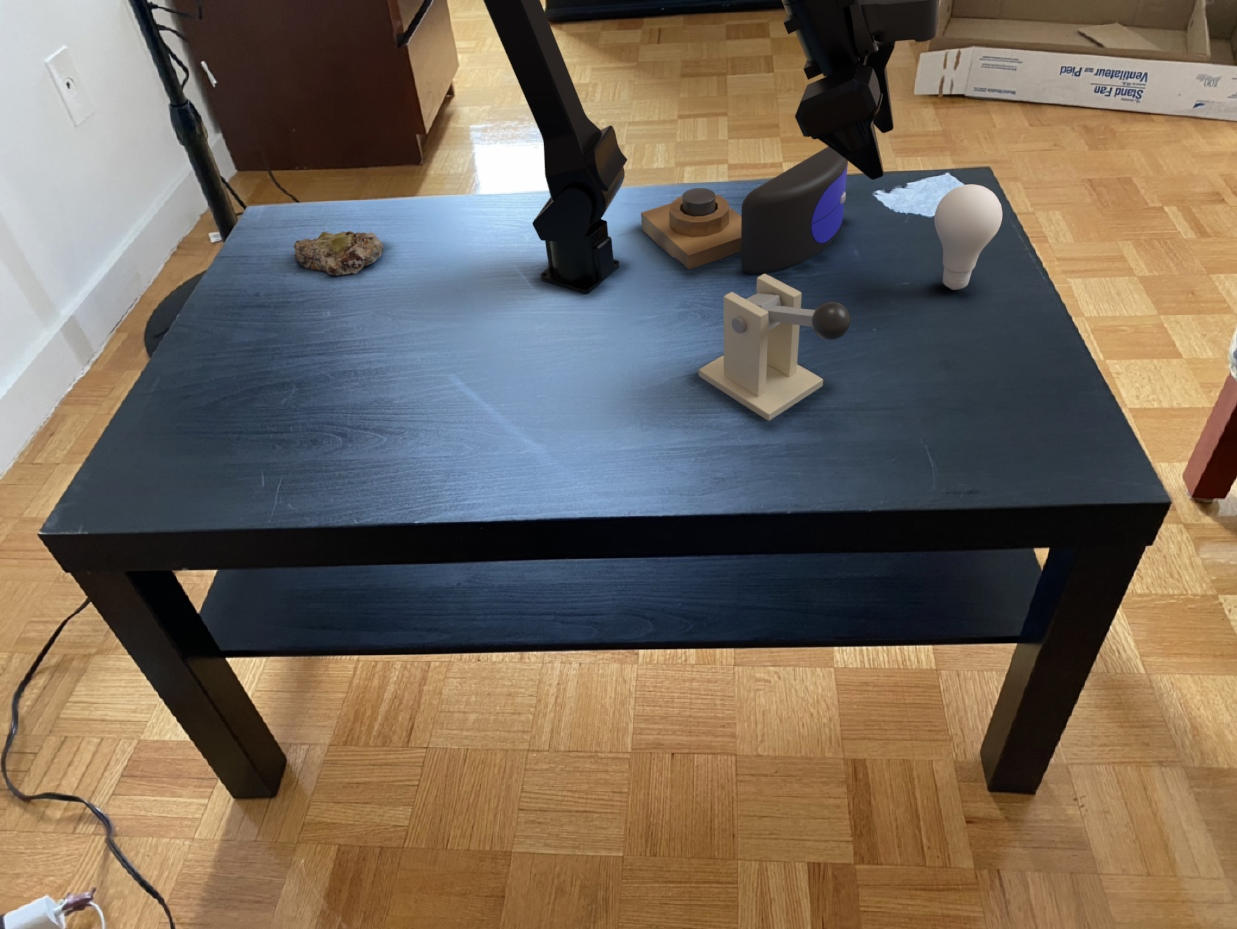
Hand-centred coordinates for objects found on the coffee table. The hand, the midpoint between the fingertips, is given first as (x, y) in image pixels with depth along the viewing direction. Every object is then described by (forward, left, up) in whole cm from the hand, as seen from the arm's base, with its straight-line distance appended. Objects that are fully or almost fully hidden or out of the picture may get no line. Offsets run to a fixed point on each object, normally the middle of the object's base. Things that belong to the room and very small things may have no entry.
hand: (883, 153), depth 85 cm
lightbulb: (+7, +6, -16) cm, 18 cm away
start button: (-21, +3, -12) cm, 25 cm away
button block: (-21, +3, -16) cm, 27 cm away
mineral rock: (-56, -19, -16) cm, 61 cm away
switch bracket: (-3, -17, -16) cm, 23 cm away
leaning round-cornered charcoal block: (-11, +6, -16) cm, 20 cm away
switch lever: (+1, -18, -8) cm, 20 cm away
